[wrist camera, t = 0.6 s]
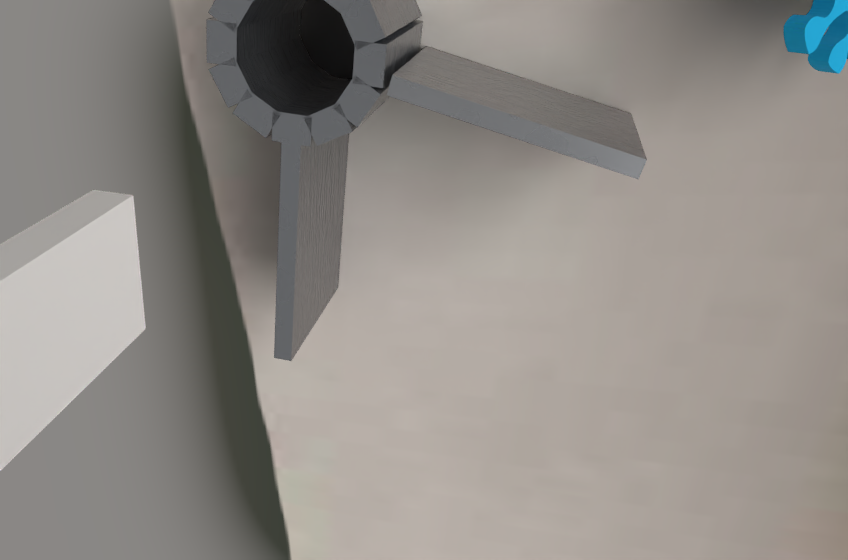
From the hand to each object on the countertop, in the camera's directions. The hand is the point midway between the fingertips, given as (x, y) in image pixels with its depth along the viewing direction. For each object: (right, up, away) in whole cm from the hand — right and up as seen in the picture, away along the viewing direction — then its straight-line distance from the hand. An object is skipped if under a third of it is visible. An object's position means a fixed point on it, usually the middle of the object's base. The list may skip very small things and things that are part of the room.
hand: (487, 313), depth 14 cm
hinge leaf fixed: (-5, +8, +25) cm, 27 cm away
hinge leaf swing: (+4, +10, +23) cm, 25 cm away
